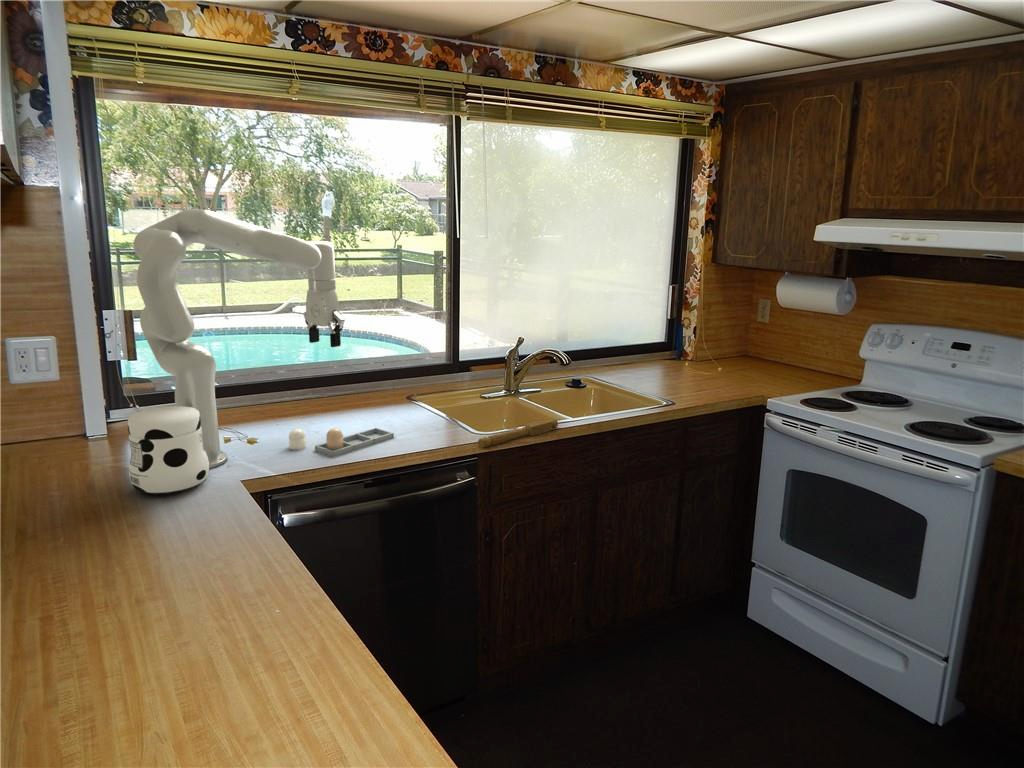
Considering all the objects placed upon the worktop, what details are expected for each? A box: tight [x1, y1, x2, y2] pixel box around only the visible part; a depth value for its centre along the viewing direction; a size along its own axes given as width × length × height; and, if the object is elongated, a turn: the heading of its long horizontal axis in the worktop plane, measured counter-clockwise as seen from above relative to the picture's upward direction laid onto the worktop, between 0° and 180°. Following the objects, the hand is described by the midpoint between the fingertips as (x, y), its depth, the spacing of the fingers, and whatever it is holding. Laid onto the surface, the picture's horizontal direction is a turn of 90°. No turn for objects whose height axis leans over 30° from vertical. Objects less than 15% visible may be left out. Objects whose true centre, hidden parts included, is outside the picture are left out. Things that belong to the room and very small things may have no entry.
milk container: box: [127, 405, 210, 496], centre depth 172 cm, size 17×17×18 cm
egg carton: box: [312, 427, 398, 459], centre depth 202 cm, size 23×9×2 cm, turn 141°
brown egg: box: [325, 427, 344, 451], centre depth 196 cm, size 4×4×6 cm
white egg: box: [288, 428, 307, 451], centre depth 199 cm, size 4×4×6 cm
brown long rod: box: [477, 418, 559, 449], centre depth 214 cm, size 3×3×30 cm
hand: (324, 344), depth 210 cm, fingers open, 9 cm apart
